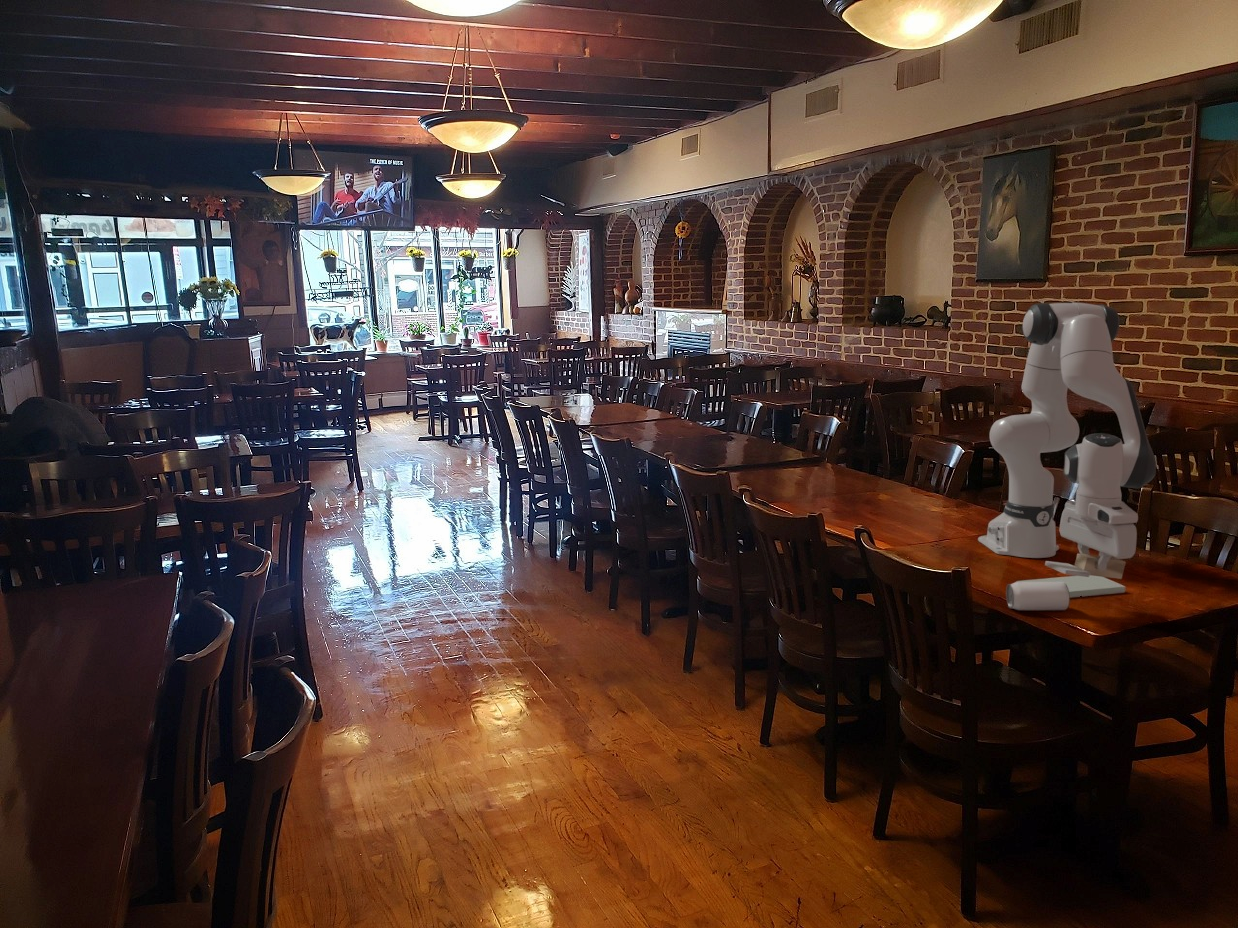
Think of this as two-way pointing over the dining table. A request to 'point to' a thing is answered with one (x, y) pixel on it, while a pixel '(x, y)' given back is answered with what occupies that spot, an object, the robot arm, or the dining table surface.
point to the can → (1038, 596)
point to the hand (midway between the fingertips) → (1093, 566)
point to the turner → (1089, 567)
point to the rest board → (1086, 585)
